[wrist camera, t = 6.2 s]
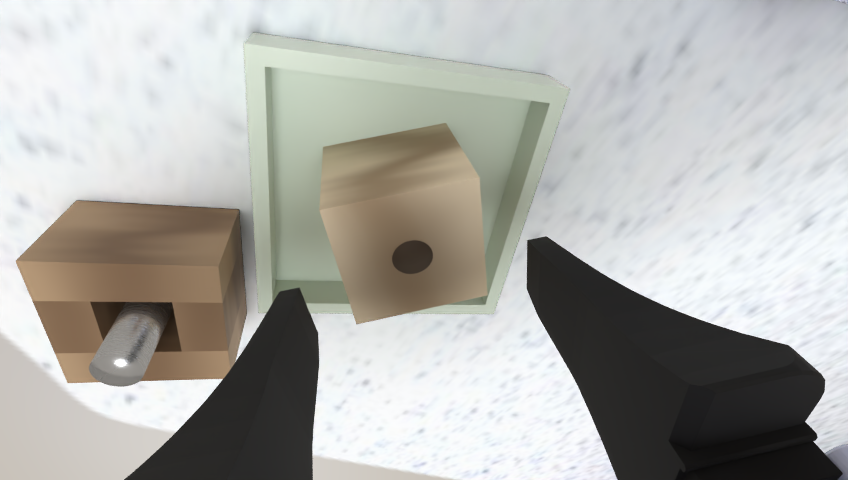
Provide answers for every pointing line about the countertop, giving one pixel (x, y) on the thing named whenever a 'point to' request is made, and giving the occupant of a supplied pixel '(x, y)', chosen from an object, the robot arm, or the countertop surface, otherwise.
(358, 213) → the block
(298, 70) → the tray
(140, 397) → the countertop surface
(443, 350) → the countertop surface
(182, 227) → the slotted wooden block
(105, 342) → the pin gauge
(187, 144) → the countertop surface
